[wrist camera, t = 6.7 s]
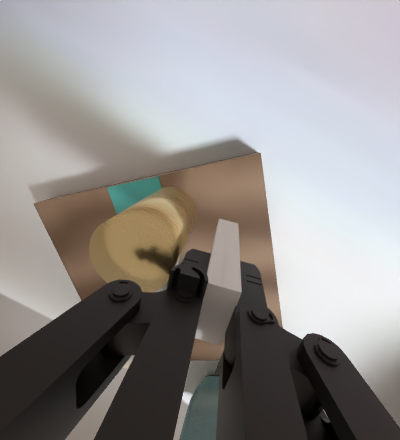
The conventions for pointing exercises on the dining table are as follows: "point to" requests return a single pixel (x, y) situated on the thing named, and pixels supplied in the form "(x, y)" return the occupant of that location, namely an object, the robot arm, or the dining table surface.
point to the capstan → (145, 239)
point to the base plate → (199, 237)
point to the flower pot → (202, 412)
